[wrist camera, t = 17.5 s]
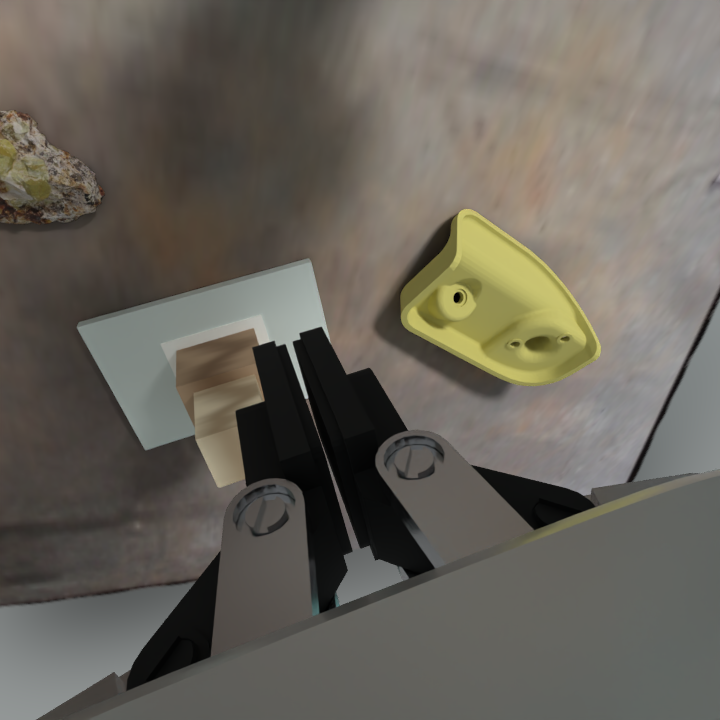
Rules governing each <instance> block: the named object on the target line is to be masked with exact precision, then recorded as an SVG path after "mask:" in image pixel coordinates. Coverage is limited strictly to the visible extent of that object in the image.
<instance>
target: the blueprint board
mask: <svg viewBox="0 0 720 720" xmlns="http://www.w3.org/2000/svg"><path fill="white" fill-rule="evenodd" d="M318 327H322V328H323V330H324V332H325V334H326V336H327V338H328V340H329V342H330V338H329V334H328V330H327V326H326V322H325V318H324V313H323V309H322V305H321V301H320V297H319V292H318V288H317V284H316V280H315V276H314V271H313V267H312V263H311V261H310V259H309V258H307V259H304V260H300V261H296V262H293V263H289V264H286V265H282V266H278V267H275V268H271V269H268V270H264V271H260V272H257V273H253V274H250V275H246V276H243V277H239V278H235V279H232V280H228V281H225V282H221V283H217V284H214V285H210V286H207V287H203V288H199V289H196V290H192V291H189V292H185V293H181V294H178V295H174V296H171V297H167V298H164V299H160V300H156V301H153V302H149V303H146V304H142V305H138V306H135V307H131V308H128V309H124V310H120V311H117V312H113V313H110V314H106V315H102V316H99V317H95V318H92V319H88V320H84V321H81V322H78V325H77V329H78V331H79V333H80V334H81V336H82V338H83V340H84V342H85V343H86V345H87V347H88V349H89V351H90V352H91V354H92V356H93V358H94V360H95V361H96V363H97V365H98V367H99V369H100V370H101V372H102V374H103V376H104V377H105V379H106V381H107V383H108V385H109V386H110V388H111V390H112V392H113V394H114V395H115V397H116V399H117V401H118V403H119V404H120V406H121V408H122V410H123V412H124V413H125V415H126V417H127V419H128V420H129V422H130V424H131V426H132V428H133V429H134V431H135V433H136V435H137V437H138V438H139V440H140V442H141V444H142V446H143V447H144V449H145V450H149V449H152V448H155V447H158V446H161V445H164V444H167V443H170V442H173V441H176V440H180V439H183V438H186V437H189V436H192V435H195V427H194V425H193V423H192V421H191V419H190V417H189V415H188V412H187V410H186V408H185V406H184V404H183V402H182V400H181V398H180V395H179V393H178V391H177V389H176V351H177V350H181V349H184V348H187V347H191V346H194V345H197V344H201V343H204V342H208V341H211V340H214V339H218V338H221V337H225V336H228V335H231V334H235V333H238V332H241V331H245V330H248V329H252V328H254V330H255V333H256V336H257V339H258V342H259V345H261V344H265V343H268V342H271V341H275V343H276V346H279V345H283V344H286V347H287V350H288V353H289V355H290V358H291V361H292V364H293V366H294V369H295V372H296V375H297V378H298V380H299V383H300V386H301V389H302V391H303V394H304V397H305V399H307V398H308V395H307V391H306V388H305V384H304V381H303V377H302V374H301V370H300V367H299V364H298V360H297V357H296V353H295V350H294V346H293V342H292V341H296V340H299V339H300V335H299V333H301V332H305V331H308V330H311V329H314V328H318ZM330 344H331V343H330Z"/></svg>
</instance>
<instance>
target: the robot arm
mask: <svg viewBox="0 0 720 720" xmlns="http://www.w3.org/2000/svg"><path fill="white" fill-rule="evenodd" d="M299 335H300V339H299V340H296V341H292V342H293V346H294V350H295V353H296V357H297V360H298V364H299V367H300V370H301V374H302V377H303V381H304V384H305V388H306V391H307V395H308V398H309V402H310V405H311V409H312V412H313V416H314V419H315V422H316V426H317V429H318V433H319V436H320V439H321V442H322V444H323V447H324V450H325V453H326V455H327V458H328V461H329V464H330V466H331V469H332V472H333V475H334V477H335V480H336V483H337V486H338V488H339V491H340V494H341V497H342V500H343V502H344V505H345V508H346V511H347V513H348V516H349V519H350V522H351V524H352V527H353V530H354V533H355V535H356V538H357V541H358V544H359V546H360V548H364V547H367V546H369V545H370V548H371V550H372V553H373V556H374V558H375V560H378V559H380V560H383V561H386V562H389V563H391V564H394V565H397V567H398V570H399V573H400V575H401V578H402V579H403V581H402V582H400V583H397V584H395V585H392V586H389V587H387V588H384V589H382V590H379V591H377V592H374V593H371V594H369V595H367V596H364V597H361V598H359V599H356V600H354V601H351V602H349V603H346V604H343V605H341V606H340V605H339V600H338V596H337V593H336V590H337V589H338V587H339V585H340V583H341V582H342V580H343V578H344V576H345V574H346V573H347V571H348V570H347V566H346V563H345V560H344V556H343V555H345V554H348V553H350V552H352V547H351V544H350V540H349V537H348V534H347V530H346V527H345V523H344V520H343V516H342V513H341V509H340V506H339V502H338V499H337V495H336V492H335V488H334V485H333V482H332V478H331V475H330V471H329V468H328V464H327V461H326V457H325V454H324V451H323V448H322V445H321V442H320V439H319V436H318V433H317V430H316V428H315V425H314V422H313V419H312V416H311V414H310V411H309V408H308V405H307V403H306V400H305V397H304V394H303V391H302V389H301V386H300V383H299V380H298V378H297V375H296V372H295V369H294V366H293V364H292V361H291V358H290V355H289V353H288V350H287V347H286V344H283V345H279V346H276V343H275V341H271V342H268V343H265V344H261V345H258V346H255V347H252V350H253V354H254V358H255V362H256V366H257V370H258V374H259V379H260V383H261V387H262V391H263V395H264V399H265V401H263V402H260V403H257V404H254V405H251V406H248V407H244V408H241V409H238V410H236V411H235V413H236V421H237V427H238V434H239V440H240V447H241V453H242V460H243V466H244V473H245V479H246V486H247V487H246V488H245V489H243V490H241V491H240V492H239V493H238V494H237V495H236V496H235V497H234V498H233V499H232V501H231V502H230V504H229V506H228V507H227V509H226V513H225V516H224V522H223V533H222V543H221V551H220V552H219V553H218V555H217V556H216V557H215V558H214V560H213V561H212V562H211V563H210V565H209V566H208V567H207V568H206V570H205V571H204V572H203V574H202V575H201V576H200V577H199V579H198V580H197V581H196V582H195V584H194V585H193V586H192V587H191V589H190V590H189V591H188V592H187V594H186V595H185V596H184V597H183V599H182V600H181V601H180V602H179V604H178V605H177V607H176V608H175V609H174V610H173V611H172V613H171V614H170V615H169V616H168V618H167V619H166V620H165V621H164V623H163V624H162V625H161V627H160V628H159V629H158V630H157V631H156V633H155V634H154V635H153V636H152V638H151V639H150V640H149V642H148V643H147V644H146V645H145V647H144V648H143V649H142V651H141V652H140V654H139V655H138V657H137V658H136V660H135V662H134V664H133V665H132V668H131V670H130V671H128V672H126V673H125V674H123V675H122V676H120V677H118V676H117V675H116V674H115V672H113V673H112V674H110V675H109V676H107V677H105V678H104V679H102V680H100V681H99V682H97V683H96V684H94V685H92V686H91V687H89V688H87V689H86V690H84V691H82V692H81V693H79V694H78V695H76V696H75V697H73V698H71V699H69V700H68V701H66V702H64V703H63V704H61V705H60V706H58V707H56V708H55V709H53V710H51V711H50V712H48V713H47V714H45V715H43V716H42V717H40V718H38V719H37V720H720V469H718V470H712V471H708V472H704V473H689V474H682V475H676V476H669V477H663V478H656V479H650V480H643V481H638V482H631V483H624V484H618V485H611V486H605V487H598V488H592V490H591V495H586V496H583V495H581V494H580V493H578V492H575V491H572V490H570V489H567V488H563V487H559V486H555V485H551V484H547V483H543V482H539V481H535V480H531V479H526V478H522V477H518V476H514V475H510V474H506V473H502V472H498V471H494V470H490V469H486V468H481V467H477V466H473V465H470V464H469V463H468V462H467V461H466V460H465V459H464V458H463V457H462V456H461V455H460V454H459V453H458V452H457V451H456V450H455V449H454V448H453V447H452V446H451V445H450V444H449V443H448V442H447V441H446V440H445V439H444V438H442V437H441V436H440V435H438V434H435V433H432V432H430V431H423V430H411V431H408V430H407V428H406V426H405V425H404V423H403V421H402V420H401V418H400V416H399V415H398V413H397V411H396V410H395V408H394V406H393V405H392V403H391V401H390V400H389V398H388V396H387V395H386V393H385V391H384V390H383V388H382V386H381V385H380V383H379V381H378V380H377V378H376V376H375V375H374V373H373V371H372V370H371V369H370V368H367V369H364V370H361V371H357V372H354V373H351V374H348V375H346V373H345V371H344V369H343V367H342V365H341V363H340V361H339V359H338V357H337V355H336V353H335V351H334V349H333V347H332V345H331V344H330V342H329V340H328V338H327V336H326V334H325V332H324V330H323V328H322V327H318V328H314V329H311V330H308V331H305V332H301V333H299Z"/></svg>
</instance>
